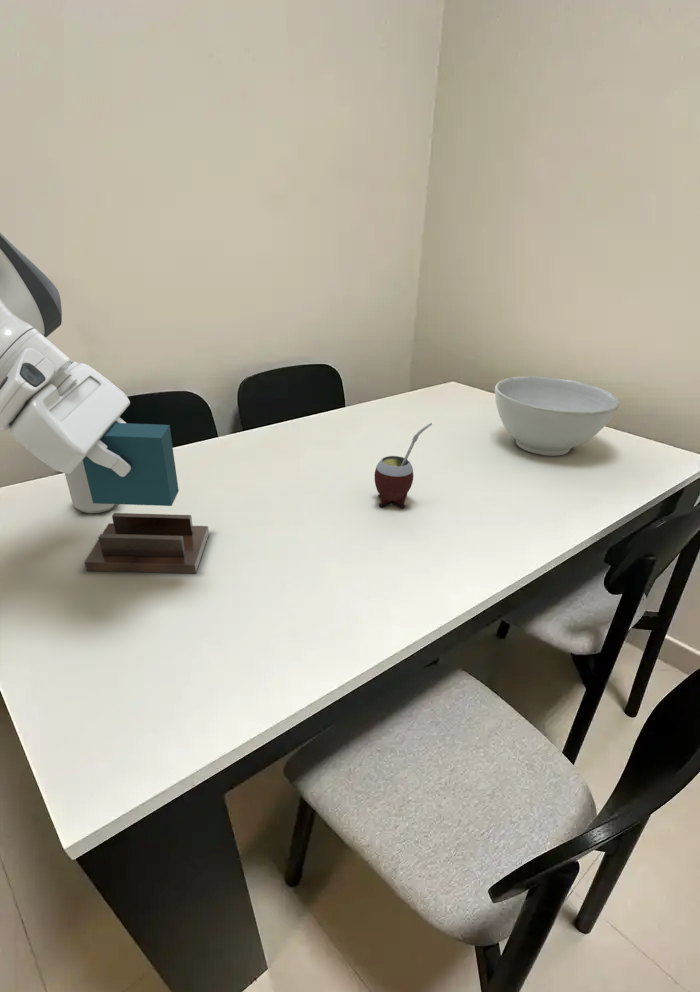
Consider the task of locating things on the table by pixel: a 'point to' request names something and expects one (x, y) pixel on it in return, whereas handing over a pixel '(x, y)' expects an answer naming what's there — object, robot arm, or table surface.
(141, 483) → the back pad
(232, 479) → the table surface
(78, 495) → the can
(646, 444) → the table surface
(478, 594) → the table surface
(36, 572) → the table surface
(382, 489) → the mate gourd
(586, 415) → the decorative bowl
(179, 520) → the board
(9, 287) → the robot arm
